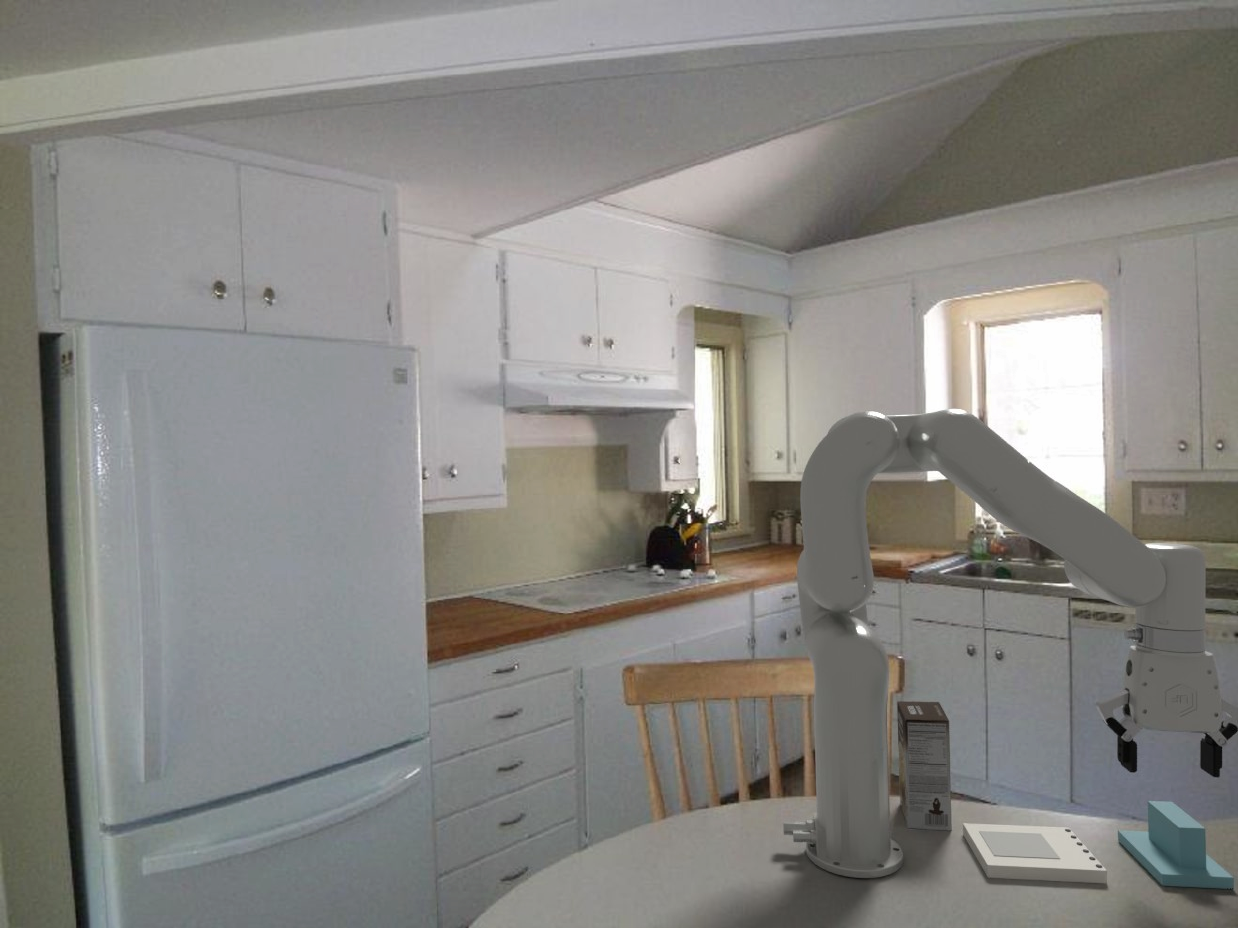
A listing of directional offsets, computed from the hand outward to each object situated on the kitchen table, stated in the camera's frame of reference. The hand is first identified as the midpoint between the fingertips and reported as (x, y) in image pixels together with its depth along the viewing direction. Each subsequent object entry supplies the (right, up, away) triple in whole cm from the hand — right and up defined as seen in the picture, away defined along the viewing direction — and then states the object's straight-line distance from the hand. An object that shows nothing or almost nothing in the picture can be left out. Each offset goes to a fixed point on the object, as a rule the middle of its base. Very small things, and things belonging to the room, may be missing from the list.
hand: (1168, 770), depth 105 cm
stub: (0, -12, 0) cm, 12 cm away
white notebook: (-17, -13, +3) cm, 21 cm away
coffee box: (-26, -13, +16) cm, 33 cm away
